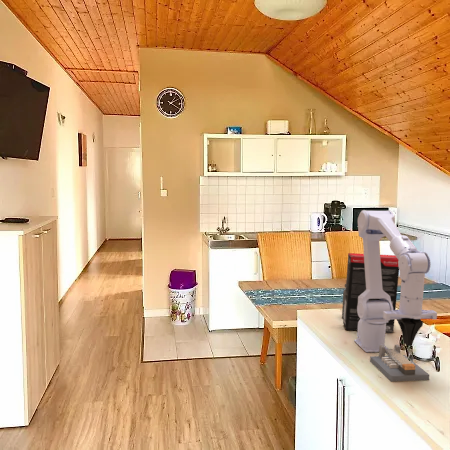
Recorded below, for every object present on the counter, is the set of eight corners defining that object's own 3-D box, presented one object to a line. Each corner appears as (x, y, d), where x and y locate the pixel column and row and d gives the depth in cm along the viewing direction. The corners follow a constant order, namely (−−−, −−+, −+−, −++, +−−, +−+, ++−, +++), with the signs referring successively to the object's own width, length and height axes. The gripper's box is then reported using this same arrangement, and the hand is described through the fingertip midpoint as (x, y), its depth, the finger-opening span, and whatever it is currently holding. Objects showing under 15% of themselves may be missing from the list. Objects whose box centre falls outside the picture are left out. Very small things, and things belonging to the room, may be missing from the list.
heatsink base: (369, 361, 137) (371, 345, 136) (404, 359, 139) (405, 344, 138) (391, 381, 124) (392, 363, 124) (429, 379, 126) (430, 362, 125)
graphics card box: (390, 327, 167) (395, 253, 163) (395, 334, 160) (401, 257, 156) (342, 324, 168) (346, 251, 165) (345, 331, 162) (349, 255, 158)
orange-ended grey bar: (384, 351, 137) (384, 348, 137) (393, 351, 137) (393, 348, 137) (404, 369, 125) (405, 366, 125) (415, 369, 125) (415, 366, 125)
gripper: (393, 301, 120) (390, 350, 121) (445, 300, 122) (441, 349, 123) (381, 293, 127) (377, 340, 128) (430, 292, 128) (426, 339, 130)
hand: (407, 344), depth 126 cm, fingers closed
